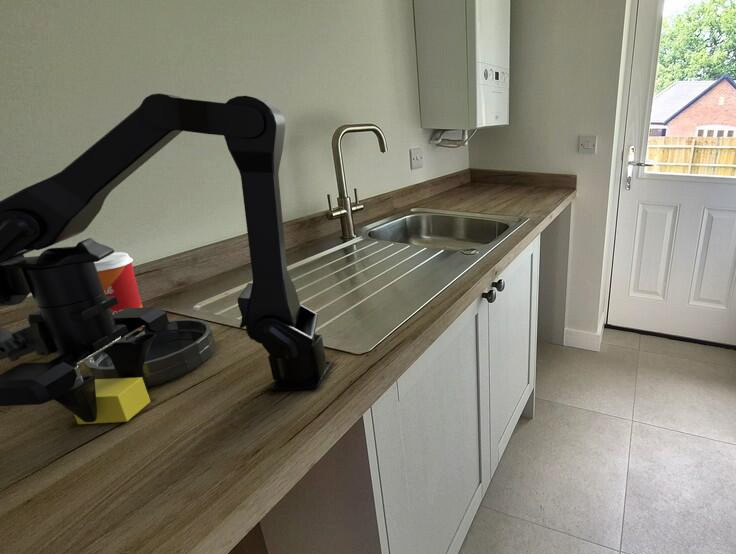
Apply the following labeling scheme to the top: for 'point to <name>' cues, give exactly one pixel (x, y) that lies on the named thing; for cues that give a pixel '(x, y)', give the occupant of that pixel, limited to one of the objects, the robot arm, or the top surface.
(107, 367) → the pan
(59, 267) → the robot arm
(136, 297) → the paper cup
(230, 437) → the top surface
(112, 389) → the sponge
